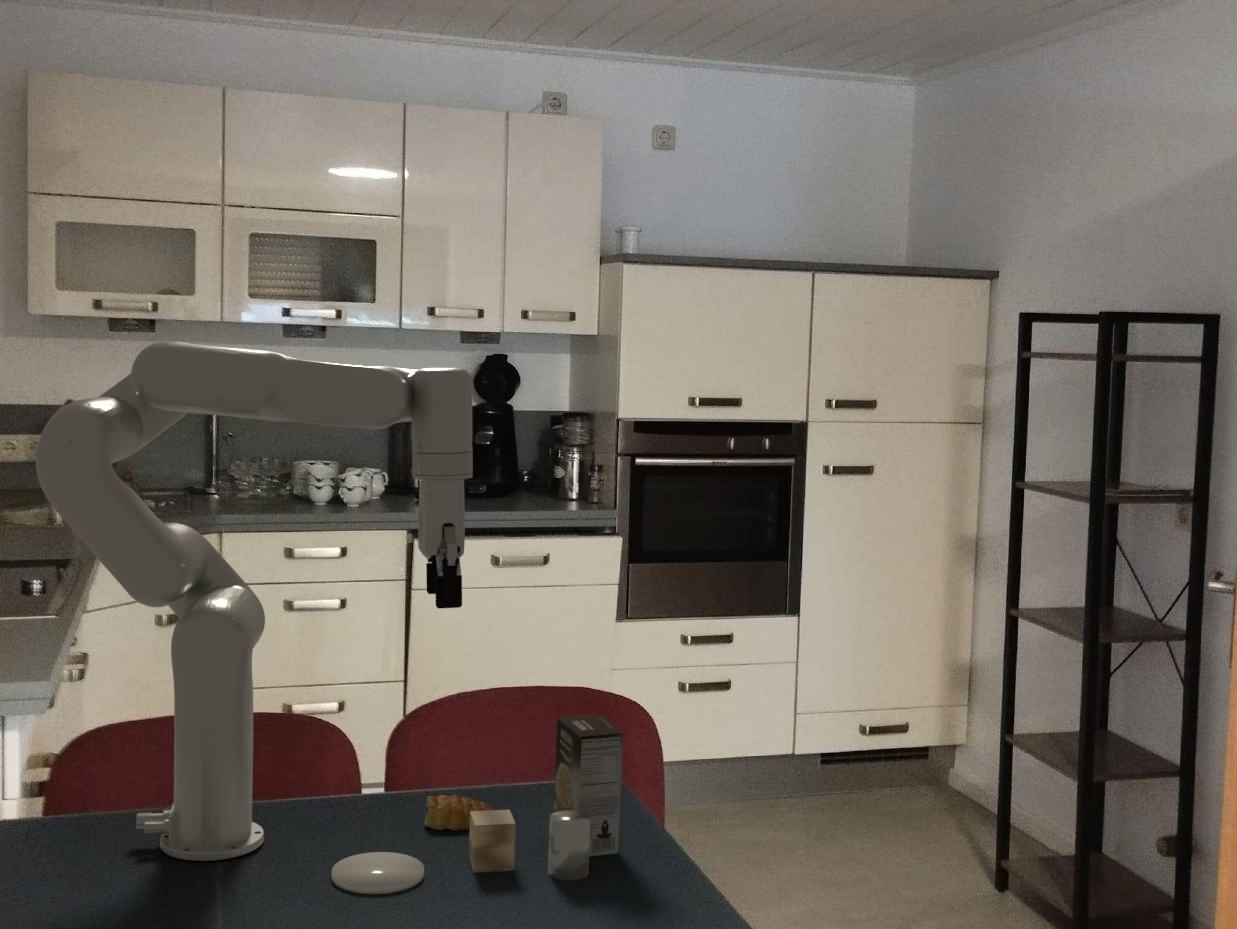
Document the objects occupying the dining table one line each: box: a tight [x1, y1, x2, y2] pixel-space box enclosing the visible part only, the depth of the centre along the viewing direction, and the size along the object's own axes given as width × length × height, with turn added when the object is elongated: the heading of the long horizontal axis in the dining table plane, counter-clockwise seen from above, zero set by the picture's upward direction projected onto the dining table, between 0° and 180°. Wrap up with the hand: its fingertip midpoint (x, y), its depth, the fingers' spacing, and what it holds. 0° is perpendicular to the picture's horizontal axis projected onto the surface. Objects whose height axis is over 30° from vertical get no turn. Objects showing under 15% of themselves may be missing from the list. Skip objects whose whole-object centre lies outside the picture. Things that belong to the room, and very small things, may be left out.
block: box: [468, 809, 516, 874], centre depth 167 cm, size 5×5×6 cm
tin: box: [547, 810, 590, 882], centre depth 165 cm, size 5×5×7 cm
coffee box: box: [553, 713, 624, 858], centre depth 174 cm, size 9×6×16 cm
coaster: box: [331, 851, 425, 895], centre depth 162 cm, size 11×11×1 cm
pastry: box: [424, 794, 494, 831], centre depth 181 cm, size 9×7×4 cm
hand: (443, 600), depth 170 cm, fingers open, 9 cm apart
